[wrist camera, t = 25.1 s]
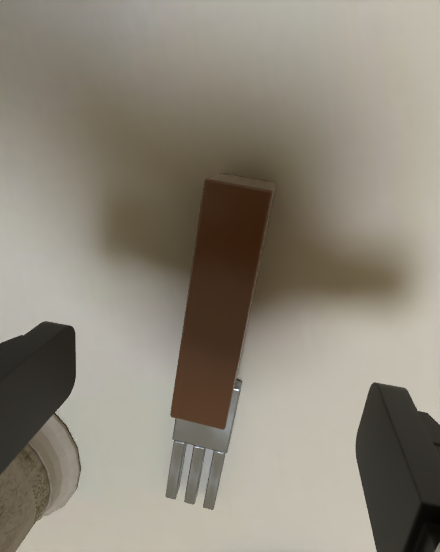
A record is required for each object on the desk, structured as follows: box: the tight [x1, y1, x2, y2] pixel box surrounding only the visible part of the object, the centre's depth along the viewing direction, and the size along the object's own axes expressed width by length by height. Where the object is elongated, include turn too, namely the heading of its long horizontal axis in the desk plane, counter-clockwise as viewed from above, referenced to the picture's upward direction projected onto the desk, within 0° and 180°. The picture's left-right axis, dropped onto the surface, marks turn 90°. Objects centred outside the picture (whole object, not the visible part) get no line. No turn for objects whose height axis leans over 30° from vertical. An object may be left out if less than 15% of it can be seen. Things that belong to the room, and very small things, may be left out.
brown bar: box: [166, 174, 276, 510], centre depth 18 cm, size 18×3×4 cm, turn 171°
